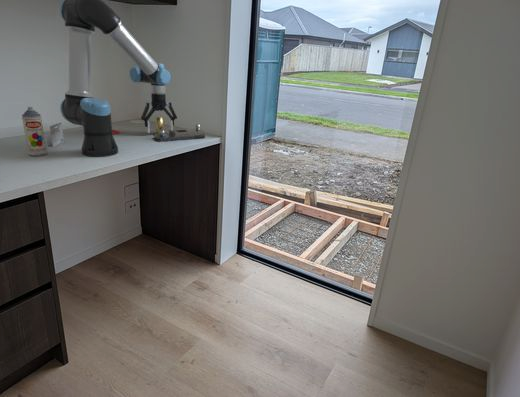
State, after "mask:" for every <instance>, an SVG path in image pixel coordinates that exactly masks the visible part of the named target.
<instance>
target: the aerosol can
mask: <svg viewBox="0 0 520 397" xmlns="http://www.w3.org/2000/svg"><path fill="white" fill-rule="evenodd" d="M21 116H22V117H21V119H22V124H23V130H24V135H25V142H26V147H27V152H28V156H29V157H36V158H37V157H43V156H46V155H48V151H47V150H48V149H47V145H46V143H47V142H46V136H45V132H44V125H43V120H42V115H41V114H40V113H39V112H38V111H36V110H35V109H34V108H33V106H28V107H27V110H26V111H25V112H24V113H23V114H21Z"/></svg>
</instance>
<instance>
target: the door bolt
mask: <svg viewBox="0 0 520 397" xmlns="http://www.w3.org/2000/svg"><path fill="white" fill-rule="evenodd" d="M205 133H206V131H205V130H203V129H201V124H198V123H197V124H195V128H185V129H183V128H182V129H173V130H170V129H169V130H168V133H165V129H164V130H160V134H154V135H153V138H154V139H155V140H157V141H158V142H161V143H162V142H174V141H177V142H178V141H188V140H189V141H190V140H200V139H206V134H205Z"/></svg>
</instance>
